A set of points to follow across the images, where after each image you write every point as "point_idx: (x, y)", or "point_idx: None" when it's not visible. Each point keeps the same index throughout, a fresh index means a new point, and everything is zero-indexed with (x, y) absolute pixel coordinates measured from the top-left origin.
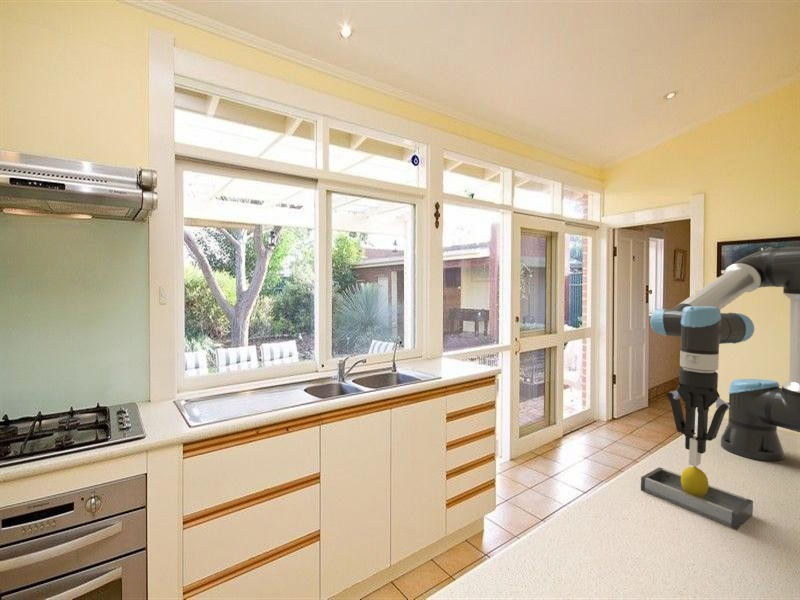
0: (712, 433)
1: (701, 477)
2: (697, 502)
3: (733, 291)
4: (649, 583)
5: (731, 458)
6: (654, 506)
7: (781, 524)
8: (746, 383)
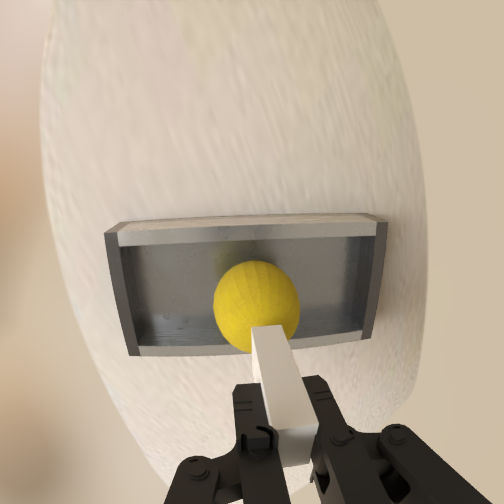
0: (403, 489)
1: (290, 337)
2: None
3: None
4: (296, 483)
5: None
6: (205, 375)
7: (410, 202)
8: None
